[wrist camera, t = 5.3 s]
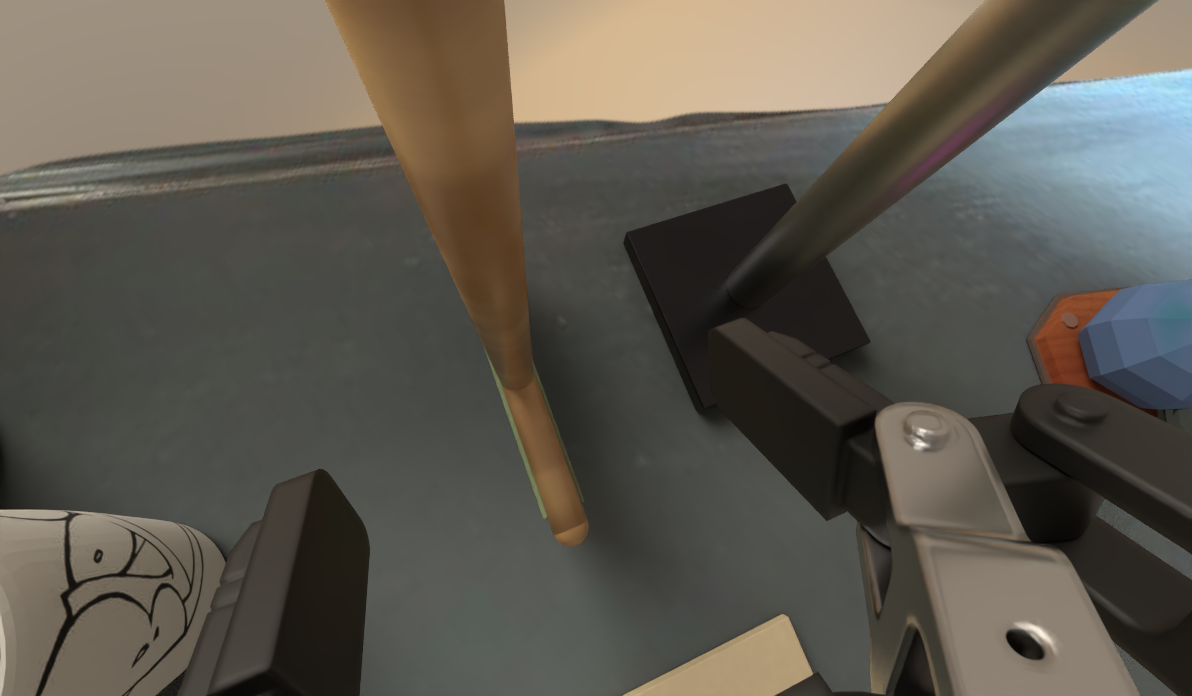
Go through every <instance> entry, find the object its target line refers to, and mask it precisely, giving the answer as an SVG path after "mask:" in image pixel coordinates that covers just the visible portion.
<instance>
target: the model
mask: <svg viewBox="0 0 1192 696" xmlns="http://www.w3.org/2000/svg"><path fill="white" fill-rule="evenodd" d="M1027 342H1028V345H1029V348H1030V351H1031V354H1032V357H1033V359H1034V362H1035V365H1036V368H1037V371H1038V374H1039V376H1040V379H1041V382H1042V384H1053V383H1057V384H1070V385H1076V386H1082V387H1086V388H1090V389H1094V390H1097V391H1100V392H1103V393H1105V394H1108V395H1110V396H1112V397H1115V398H1117V399H1119V400H1121V401H1123V402H1125V403H1127V404H1129V405H1131V406H1133V407H1136V408H1138V409H1140V410H1142V411H1144V412H1146V413H1148V414H1150V415H1152V416H1154V417H1156V418H1158V419H1160V420H1163V421H1165V422H1167V423H1169V424H1171V425H1173V426H1175V427H1177V428H1179V429H1181V430H1183V431H1185V432H1188V433H1190V434H1192V280H1182V281H1172V282H1162V283H1152V284H1143V285H1138V286H1132V287H1122V288H1112V289H1102V290H1092V291H1083V292H1073V293H1064V294H1058V295H1056V296H1055V298H1054V299H1053V300H1052V302H1051V303H1050V304H1049V306H1048V307H1047V309H1046V310H1045V311H1044V313H1043V314H1042V316H1041V317H1040V319H1039V320H1038V322H1037V324H1036V325H1035V327H1034V328H1033V330H1032V331H1031V333H1030V335H1029V336H1028V338H1027Z"/></svg>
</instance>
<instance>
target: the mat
mask: <svg viewBox="0 0 1192 696" xmlns="http://www.w3.org/2000/svg"><path fill="white" fill-rule="evenodd" d="M811 675H813V673H812V670H811V668H810V666H809V663H808V661H807V659H806V656H805V654H804V652H803V649H802V647H801V645H800V643H799V640H798V638H797V636H796V633H795V631H794V629H793V626H792V624H791V622H790V620H789V618H788V617H787V616H785V615H784V614H781V615H779V616H777V617H775V618H773V619H771V620H769V621H767V622H766V623H764V624H762V625H760V626H758V627H756V628H754V629H752V630H750V631H748V632H746V633H744V634H742V635H740V636H738V637H736V638H734V639H732V640H730V641H728V642H726V643H724V644H722V645H720V646H718V647H717V648H715V649H713V650H711V651H709V652H707V653H705V654H703V655H701V656H699V657H697V658H695V659H693V660H691V661H689V662H687V663H685V664H683V665H681V666H679V667H677V668H675V669H673V670H671V671H670V672H668V673H666V674H664V675H662V676H660V677H658V678H656V679H654V680H652V681H650V682H648V683H646V684H644V685H642V686H640V687H638V688H636V689H634V690H632V691H630V692H628V693H626V694H624V695H623V696H775V695H776V694H778V693H780V692H782V691H784V690H786V689H787V688H789V687H791V686H793V685H795V684H797V683H799V682H800V681H802V680H804V679H806V678H808V677H810V676H811Z"/></svg>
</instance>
